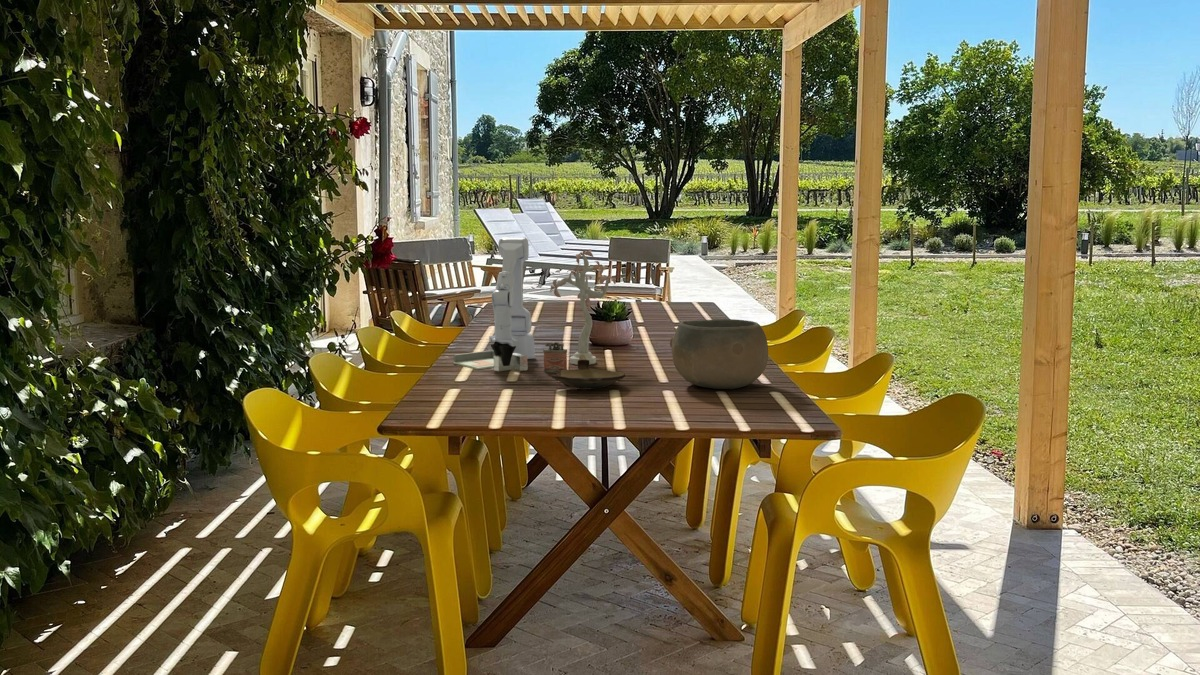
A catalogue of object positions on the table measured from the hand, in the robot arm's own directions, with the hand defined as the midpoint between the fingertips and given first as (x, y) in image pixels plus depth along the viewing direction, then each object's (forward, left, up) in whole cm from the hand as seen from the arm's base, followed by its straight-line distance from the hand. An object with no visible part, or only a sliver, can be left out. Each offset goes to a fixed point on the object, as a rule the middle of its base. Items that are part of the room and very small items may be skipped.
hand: (503, 365), depth 337 cm
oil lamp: (-4, +42, -2) cm, 42 cm away
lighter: (-11, +14, -2) cm, 18 cm away
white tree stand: (-30, +5, -2) cm, 31 cm away
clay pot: (-34, +68, -2) cm, 76 cm away
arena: (-1, -14, -2) cm, 14 cm away
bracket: (-2, +2, -2) cm, 3 cm away
